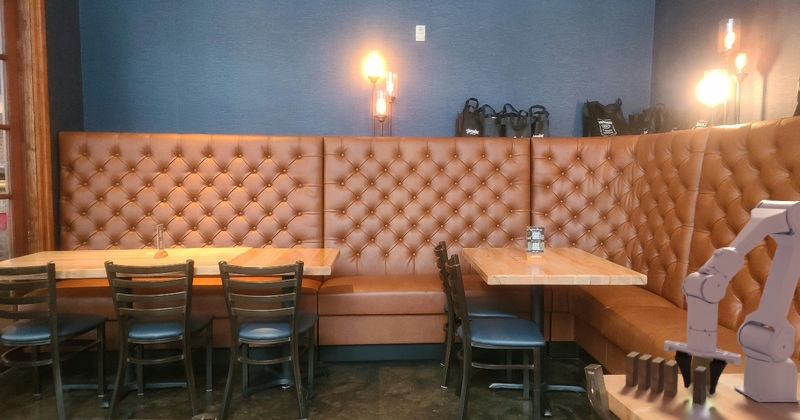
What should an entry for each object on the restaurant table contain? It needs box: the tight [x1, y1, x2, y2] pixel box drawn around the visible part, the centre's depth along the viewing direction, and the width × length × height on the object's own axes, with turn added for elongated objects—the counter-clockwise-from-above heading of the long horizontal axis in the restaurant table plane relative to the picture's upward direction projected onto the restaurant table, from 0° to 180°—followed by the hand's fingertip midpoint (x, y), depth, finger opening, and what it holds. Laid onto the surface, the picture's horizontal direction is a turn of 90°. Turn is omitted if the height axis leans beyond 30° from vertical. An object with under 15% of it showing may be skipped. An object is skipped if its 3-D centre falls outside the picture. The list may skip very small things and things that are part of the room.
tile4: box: [637, 353, 653, 391], centre depth 121 cm, size 2×4×7 cm, turn 136°
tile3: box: [650, 356, 666, 394], centre depth 119 cm, size 2×4×7 cm, turn 136°
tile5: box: [625, 351, 641, 387], centre depth 123 cm, size 2×4×7 cm, turn 136°
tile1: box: [692, 366, 708, 405], centre depth 113 cm, size 2×4×7 cm, turn 136°
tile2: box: [663, 359, 679, 398], centre depth 117 cm, size 2×4×7 cm, turn 136°
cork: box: [691, 355, 719, 386], centre depth 125 cm, size 6×6×11 cm
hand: (699, 389), depth 113 cm, fingers open, 4 cm apart
